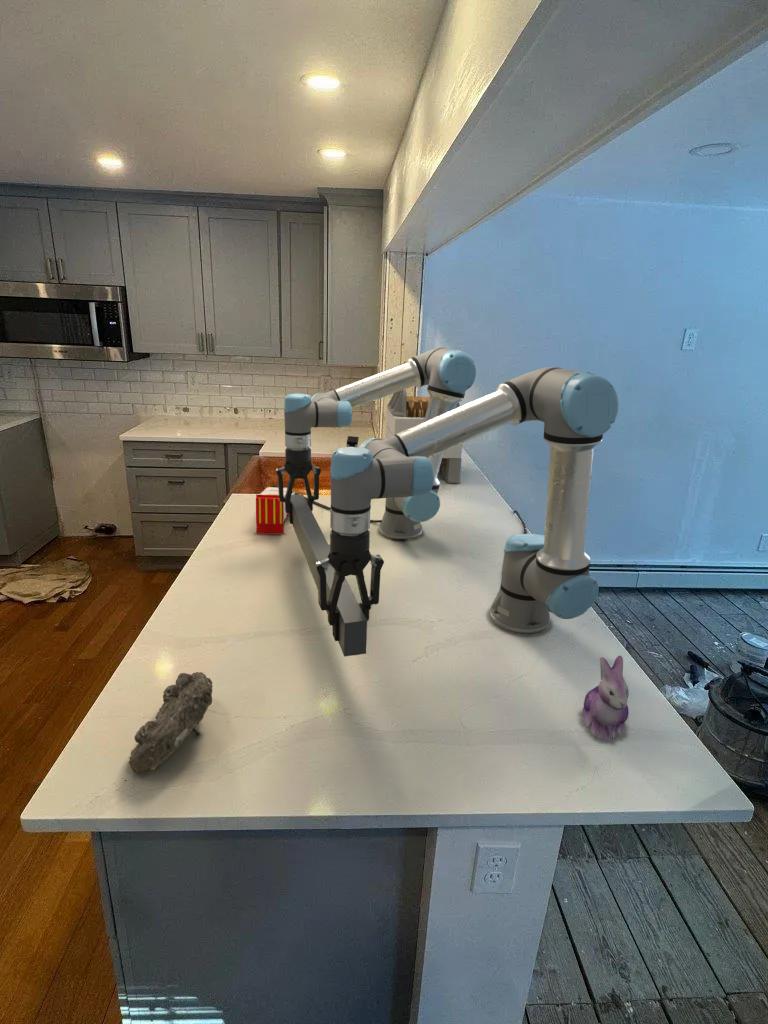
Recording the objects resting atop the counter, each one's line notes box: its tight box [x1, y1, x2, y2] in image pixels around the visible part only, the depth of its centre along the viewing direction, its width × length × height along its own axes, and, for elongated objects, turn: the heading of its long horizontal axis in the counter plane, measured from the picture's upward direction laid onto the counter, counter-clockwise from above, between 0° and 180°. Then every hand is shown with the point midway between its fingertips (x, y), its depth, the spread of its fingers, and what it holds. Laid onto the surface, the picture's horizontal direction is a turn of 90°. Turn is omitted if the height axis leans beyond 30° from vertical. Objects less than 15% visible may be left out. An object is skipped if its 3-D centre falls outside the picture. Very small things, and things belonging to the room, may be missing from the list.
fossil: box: [128, 671, 213, 773], centre depth 102 cm, size 22×10×15 cm
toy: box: [255, 486, 296, 535], centre depth 206 cm, size 12×13×30 cm
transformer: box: [385, 389, 463, 484], centre depth 268 cm, size 34×33×41 cm
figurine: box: [581, 654, 630, 741], centre depth 108 cm, size 9×10×15 cm
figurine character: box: [346, 435, 360, 447], centre depth 308 cm, size 7×8×15 cm
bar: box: [290, 494, 368, 658], centre depth 144 cm, size 78×4×8 cm, turn 17°
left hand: (299, 521), depth 174 cm, fingers closed on bar, 4 cm apart
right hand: (348, 635), depth 115 cm, fingers closed on bar, 4 cm apart
